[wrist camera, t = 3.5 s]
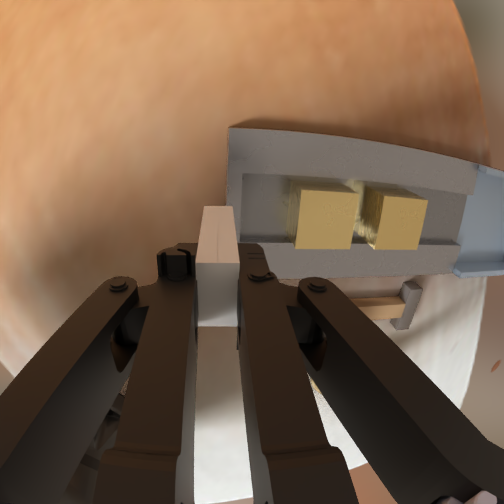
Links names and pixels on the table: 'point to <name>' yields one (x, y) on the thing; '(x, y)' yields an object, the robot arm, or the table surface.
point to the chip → (392, 218)
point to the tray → (483, 227)
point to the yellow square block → (321, 215)
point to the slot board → (355, 177)
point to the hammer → (393, 306)
